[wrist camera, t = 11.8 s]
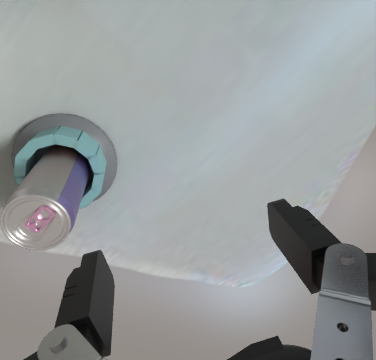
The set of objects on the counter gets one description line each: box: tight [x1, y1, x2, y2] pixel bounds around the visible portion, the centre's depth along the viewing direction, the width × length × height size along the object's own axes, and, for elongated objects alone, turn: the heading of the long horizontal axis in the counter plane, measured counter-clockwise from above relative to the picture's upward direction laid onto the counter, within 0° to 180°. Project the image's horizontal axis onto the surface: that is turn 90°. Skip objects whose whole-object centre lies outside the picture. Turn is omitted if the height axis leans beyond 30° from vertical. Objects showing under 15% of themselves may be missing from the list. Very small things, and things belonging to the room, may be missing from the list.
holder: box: [12, 113, 117, 209], centre depth 37 cm, size 13×13×5 cm
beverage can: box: [0, 145, 91, 250], centre depth 32 cm, size 6×6×15 cm
